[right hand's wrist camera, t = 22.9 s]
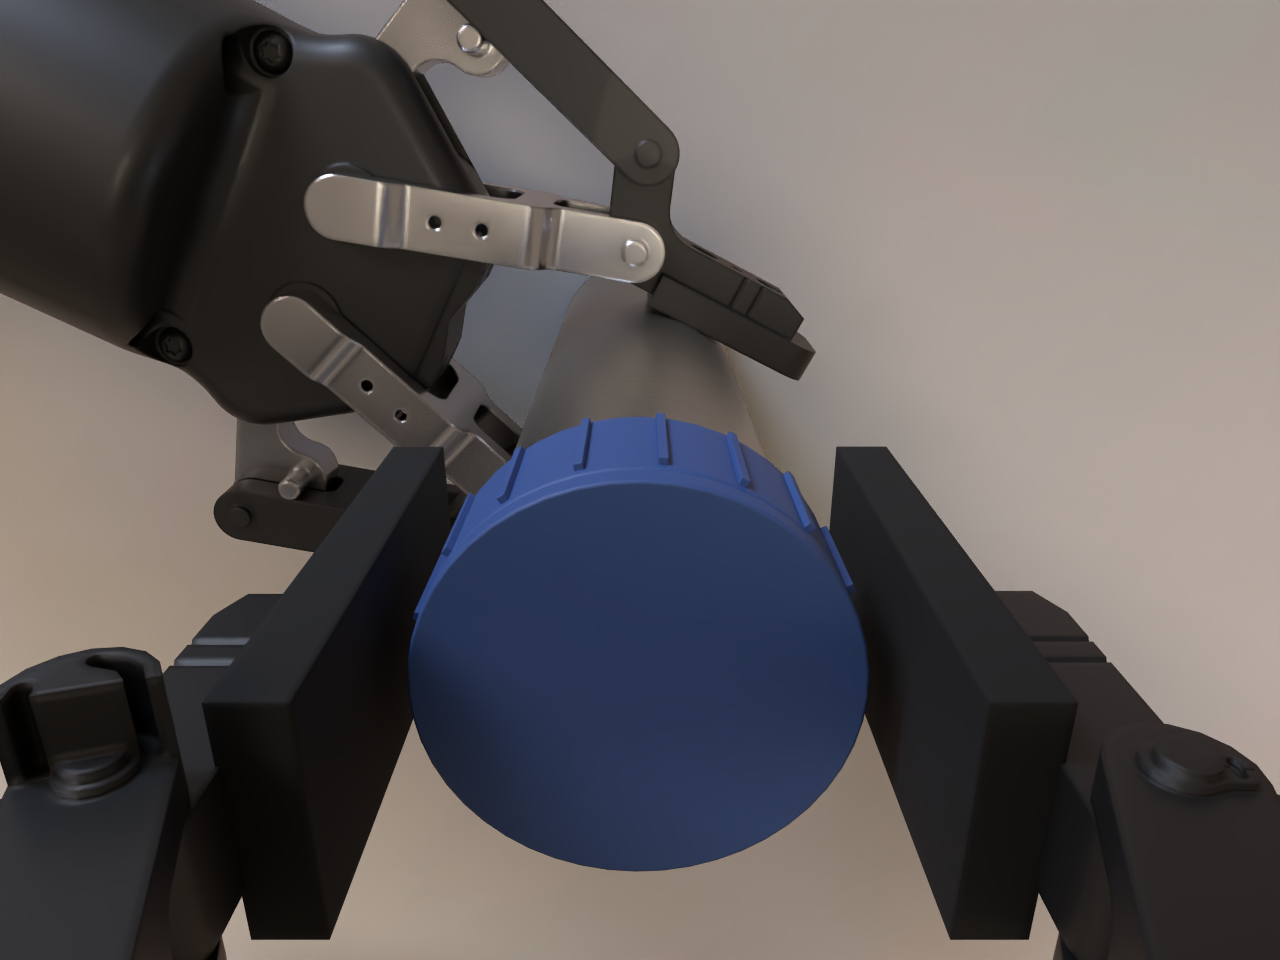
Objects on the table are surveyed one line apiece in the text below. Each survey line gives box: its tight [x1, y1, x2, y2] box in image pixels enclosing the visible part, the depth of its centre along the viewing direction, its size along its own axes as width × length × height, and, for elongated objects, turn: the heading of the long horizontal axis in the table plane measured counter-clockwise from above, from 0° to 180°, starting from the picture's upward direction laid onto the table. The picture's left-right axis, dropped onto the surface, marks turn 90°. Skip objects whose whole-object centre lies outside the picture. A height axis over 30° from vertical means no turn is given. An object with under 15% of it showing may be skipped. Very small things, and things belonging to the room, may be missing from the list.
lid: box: [408, 413, 870, 871], centre depth 11 cm, size 5×5×2 cm
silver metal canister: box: [516, 276, 765, 458], centre depth 19 cm, size 4×4×17 cm
